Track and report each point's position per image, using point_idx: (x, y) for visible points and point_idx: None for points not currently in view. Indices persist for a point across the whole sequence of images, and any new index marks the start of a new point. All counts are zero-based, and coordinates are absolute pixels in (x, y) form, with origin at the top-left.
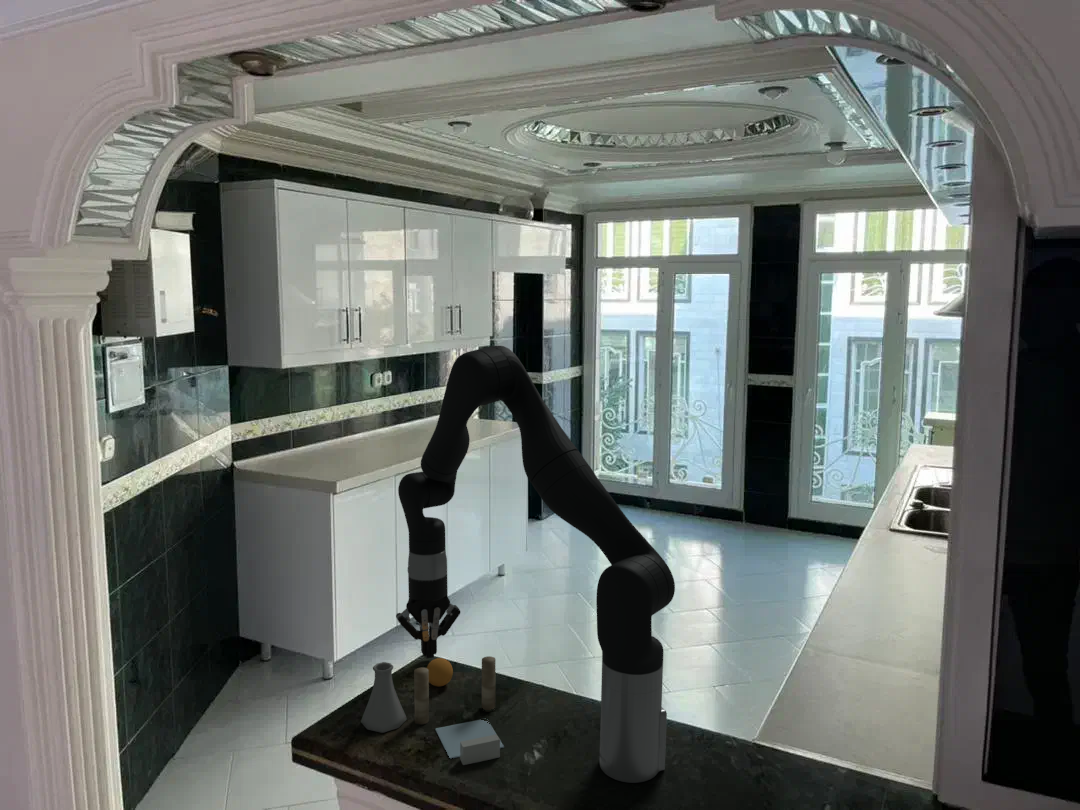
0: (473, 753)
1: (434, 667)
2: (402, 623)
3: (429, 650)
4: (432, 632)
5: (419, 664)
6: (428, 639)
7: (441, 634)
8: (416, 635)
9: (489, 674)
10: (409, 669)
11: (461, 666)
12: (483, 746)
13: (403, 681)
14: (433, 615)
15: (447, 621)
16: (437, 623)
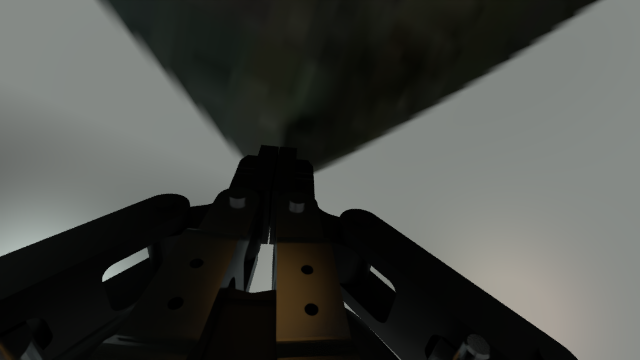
0: None
1: None
2: (519, 329)
3: (280, 162)
4: (246, 220)
5: (327, 147)
6: (281, 195)
7: (183, 201)
8: (365, 227)
9: None
10: (382, 123)
11: (142, 38)
12: None
13: (461, 20)
14: (195, 351)
15: (76, 268)
16: (182, 260)
